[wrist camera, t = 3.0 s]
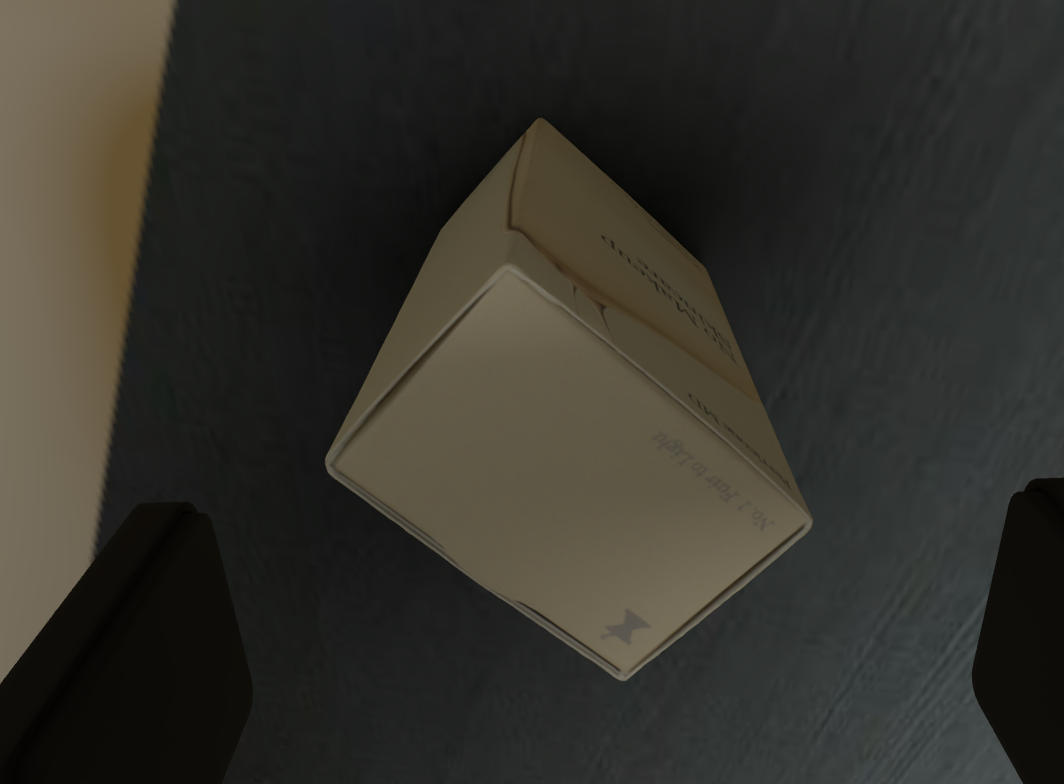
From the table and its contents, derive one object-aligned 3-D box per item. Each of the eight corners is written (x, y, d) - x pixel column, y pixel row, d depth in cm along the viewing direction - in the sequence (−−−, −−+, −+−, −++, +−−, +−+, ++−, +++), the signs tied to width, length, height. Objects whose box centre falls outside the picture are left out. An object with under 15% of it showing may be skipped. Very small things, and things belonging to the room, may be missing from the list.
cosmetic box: (709, 267, 24) (843, 526, 13) (596, 379, 25) (630, 697, 14) (532, 106, 22) (515, 248, 11) (422, 236, 24) (311, 474, 13)
